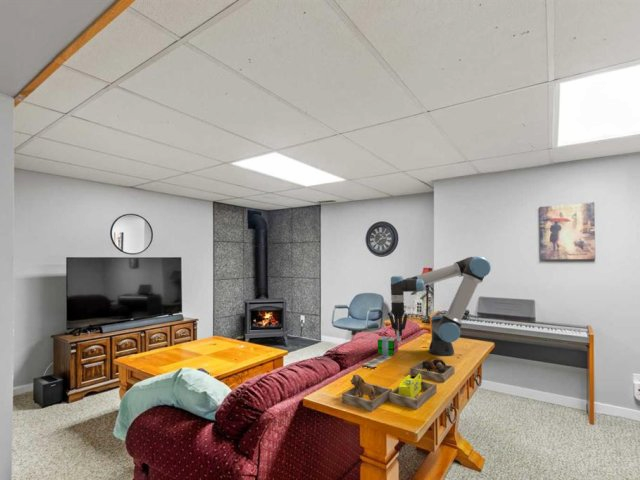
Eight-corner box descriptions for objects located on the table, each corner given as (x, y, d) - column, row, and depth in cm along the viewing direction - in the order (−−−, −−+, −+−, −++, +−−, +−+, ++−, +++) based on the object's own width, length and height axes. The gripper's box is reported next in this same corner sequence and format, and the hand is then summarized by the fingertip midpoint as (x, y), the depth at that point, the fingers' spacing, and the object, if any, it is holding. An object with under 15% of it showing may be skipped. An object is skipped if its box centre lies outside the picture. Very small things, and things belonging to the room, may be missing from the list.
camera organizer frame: (436, 392, 151) (436, 384, 151) (417, 409, 133) (417, 400, 134) (410, 386, 158) (410, 378, 158) (389, 401, 141) (389, 393, 141)
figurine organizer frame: (391, 397, 145) (391, 389, 145) (372, 411, 132) (372, 402, 132) (363, 389, 154) (363, 382, 154) (342, 402, 140) (342, 393, 140)
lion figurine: (348, 395, 146) (348, 374, 147) (356, 392, 150) (356, 371, 150) (375, 407, 136) (376, 385, 136) (383, 404, 139) (384, 381, 140)
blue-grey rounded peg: (390, 356, 201) (389, 338, 202) (386, 358, 198) (386, 339, 198) (383, 355, 204) (383, 337, 204) (380, 357, 200) (380, 338, 201)
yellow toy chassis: (411, 404, 139) (411, 383, 139) (398, 401, 142) (397, 380, 142) (422, 391, 152) (422, 372, 153) (409, 389, 155) (409, 370, 156)
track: (392, 359, 200) (392, 357, 200) (373, 369, 182) (373, 366, 182) (381, 357, 204) (381, 355, 205) (361, 367, 186) (361, 364, 186)
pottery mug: (444, 371, 181) (448, 360, 177) (443, 385, 173) (447, 373, 169) (421, 363, 184) (424, 352, 180) (419, 376, 176) (422, 365, 172)
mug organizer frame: (454, 373, 177) (454, 366, 177) (443, 382, 163) (443, 374, 163) (422, 366, 187) (422, 360, 187) (410, 375, 174) (410, 368, 174)
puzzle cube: (398, 354, 213) (397, 337, 213) (393, 358, 204) (393, 341, 204) (382, 352, 217) (382, 336, 218) (377, 356, 208) (377, 339, 209)
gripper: (385, 301, 208) (386, 341, 207) (405, 303, 200) (406, 343, 199) (390, 300, 214) (391, 338, 212) (410, 301, 206) (411, 341, 204)
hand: (398, 341), depth 205 cm, fingers closed
